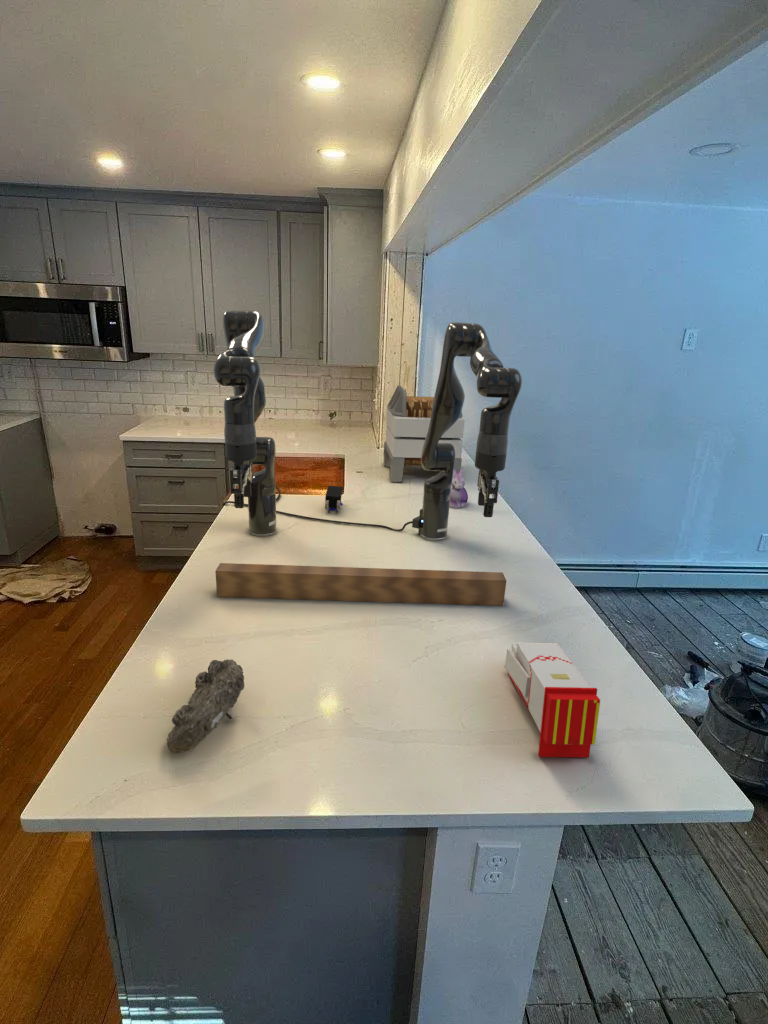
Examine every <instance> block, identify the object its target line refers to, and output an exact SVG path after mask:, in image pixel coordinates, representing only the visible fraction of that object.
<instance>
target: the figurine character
mask: <svg viewBox="0 0 768 1024" xmlns="http://www.w3.org/2000/svg"><path fill="white" fill-rule="evenodd" d="M343 491H344V486H337V485H328V486H327V488H326V493H325V497H324V498H325V500H324V510H327V513H328V514H330V513H331V511H335V514H338V513H339V510H341V507H342V506H343V504H344V503H343V502H342V496H343Z"/></svg>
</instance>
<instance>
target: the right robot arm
mask: <svg viewBox="0 0 768 1024" xmlns="http://www.w3.org/2000/svg"><path fill="white" fill-rule="evenodd" d="M441 352H442V353H441V360H440V367H439V374H438V379H437V383H436V386H435V387H436V388H435V392H434V396H433V397H434V401H433V406H432V412H431V418H430V423H429V428H428V431H427V435H426V438H425V442H424V445H423V449H422V454H421V465H422V466H421V467H422V469H423V470H424V471H428V472H429V471H430V472H438V473H436V474H435V475H433V476H431V477H429V478H427V479H425V480H424V482H423V493H422V496H423V497H422V506H421V508H420V509H419V515H418V516H416V517H413V518H412V520H410V521H408V522H405V523H404V524H403V526H402V527H401V528H399V529H396V528H392V527H389V526H387V525H382V524H376V523H375V524H374V523H361V522H351V521H341V520H332V519H325V518H320V517H319V518H318V517H311V516H305V515H300V514H294V513H290V512H284V511H280V510H276V514H280V515H281V514H282V515H285V516H290V517H295V518H302V519H305V520H306V519H307V520H312V521H320V522H325V523H326V522H327V523H335V524H343V525H354V526H364V527H377V528H384V529H387V530H390V531H394V532H402V531H404V529H405V528H406V527H407V526H408V525H411V527H412V528H413V529H417V535H418V536H420V538H421V539H424V540H426V541H432V542H440V541H444V540H446V539H447V538H448V525H449V517H450V516H449V514H450V493H451V489H452V478H453V470H454V464H455V449H454V446H453V445H452V444H450V443H438V442H439V440H440V438H441V437H442V435H443V434H444V433H445V432H446V431H447V430H448V429H449V428H450V427H451V426H452V425H453V424H454V423H455V422H456V421H457V420H458V418H459V417H460V415H461V412H462V413H463V408H464V403H465V397H466V395H465V391H464V387H463V385H462V383H461V381H460V379H459V377H458V375H457V372H456V369H455V358H456V357H461V358H463V357H464V358H470V359H469V367H470V369H471V371H472V373H473V375H474V376H475V378H476V390H477V393H478V394H479V395H480V396H482V397H484V398H490V399H491V398H492V399H493V398H495V399H496V398H497V399H499V398H500V400H499V402H498V403H497V404H495V405H491V406H487V407H484V408H483V409H481V413H480V419H479V428H478V429H479V430H478V435H477V440H476V447H475V448H476V449H475V456H474V457H475V458H474V459H475V460H474V467H475V468H476V469H478V476H477V483H476V486H477V491H478V496H477V505H478V506H480V507H483V517H484V518H492V517H493V516H494V506H495V504H497V503H498V495H499V487H500V486H499V485H500V480H499V479H498V476H497V472H502V471H504V470H505V468H506V463H507V462H506V461H507V453H508V444H509V429H510V420H511V416H512V413H513V410H514V407H515V404H516V401H517V399H518V397H519V394H520V392H521V390H522V384H523V378H522V374H521V372H520V371H519V370H518V369H517V368H514V367H504V364H503V362H502V361H501V359H500V358H499V357H498V356H497V355H496V353H495V352H494V351H493V349H492V345H491V343H490V339H489V337H488V334H487V332H486V330H485V328H484V327H483V326H482V325H481V324H479V323H475V322H460V321H459V322H457V321H454V322H453V321H452V322H449V324H448V325H447V327H446V329H445V332H444V338H443V343H442V351H441ZM490 496H491V497H490ZM227 504H233V505H235V503H234V501H233V500H228V501H225V502H223V503H222V506H225V505H227ZM244 507H248V503H244Z"/></svg>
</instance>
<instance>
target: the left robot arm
mask: <svg viewBox="0 0 768 1024" xmlns="http://www.w3.org/2000/svg"><path fill="white" fill-rule="evenodd" d="M264 321H265V320H264V318H263V315H262V313H260V312H259V311H257V310H227V311H225V312H224V313H223V316H222V327H223V333H224V335H223V336H224V339H225V344H226V350H224V351H223V352H222V353H220V354H219V356H218V357H217V358H216V359H215V362H214V364H213V377H214V379H215V381H216V382H217V384H219V385H220V386H223V387H226V388H228V387H229V388H230V387H231V388H233V389H232V390H233V395H232V396H229V397H228V396H227V397H226V398H225V399H224V401H223V413H224V415H223V416H224V426H223V427H224V429H223V434H224V452H225V459H226V460H227V461H231V462H232V463H233V466H232V468H231V469H230V470H229V477H230V481H229V482H230V494H232V495H233V500H234V501H233V502H234V503H235V504H234V503H233V504H234V508H235V509H244V507H245V506H244V504H245V498H247V504H248V506H247V507H248V508H247V510H248V533H249V534H250V535H252V536H256V537H268V536H272V535H274V534H276V533H277V532H278V529H277V513H276V511H277V502H278V500H279V499H280V497H281V495H282V492H281V490H280V488H279V487H278V486H277V485H276V453H277V452H276V451H277V450H276V448H277V447H276V441H275V439H274V438H273V437H269V436H257V429H256V425H255V424H256V423H257V421H258V419H259V418H260V416H261V415H262V413H263V412H264V409H265V407H266V404H267V397H266V390H265V389H266V388H265V383H264V381H263V379H262V377H261V365H260V363H259V361H258V360H257V359H256V354H257V352H258V350H259V349H260V347H261V346H262V344H263V343H264V339H265V335H266V334H265V333H266V331H265V322H264ZM257 465H258V466H264V468H263V469H261V470H259V471H255V472H254V467H253V466H257ZM237 486H238V488H237ZM276 490H277V491H278V496H277V497H276V495H277V494H276Z"/></svg>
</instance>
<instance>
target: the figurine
mask: <svg viewBox="0 0 768 1024" xmlns="http://www.w3.org/2000/svg"><path fill="white" fill-rule="evenodd" d="M463 474H464V468H461V469H460V471H459V473H457V472H456V470H455V469H454V470H453V479H452V485H451V493H450V505H449V508H454V509H455V508H456V509H459V508H464V507H466V506H467V504H468V500H469V495H468V491H467V489H466V487H465V484H466V483H465V479H464V477H463V476H464V475H463Z"/></svg>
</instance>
